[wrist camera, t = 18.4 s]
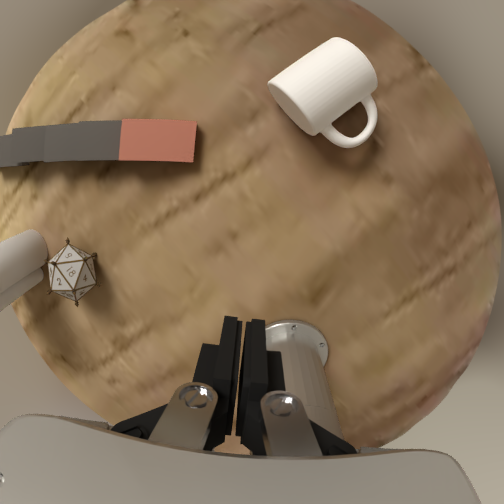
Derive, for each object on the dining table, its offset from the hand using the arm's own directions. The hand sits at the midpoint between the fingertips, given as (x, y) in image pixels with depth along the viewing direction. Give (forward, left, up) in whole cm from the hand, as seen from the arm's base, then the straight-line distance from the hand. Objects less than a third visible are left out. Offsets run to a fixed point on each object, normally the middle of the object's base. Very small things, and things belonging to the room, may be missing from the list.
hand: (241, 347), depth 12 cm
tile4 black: (+9, +27, -26) cm, 38 cm away
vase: (-10, +36, -27) cm, 46 cm away
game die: (-9, +24, -27) cm, 37 cm away
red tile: (+9, +8, -26) cm, 29 cm away
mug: (+16, -8, -27) cm, 32 cm away
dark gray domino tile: (+9, +20, -26) cm, 34 cm away
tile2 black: (+9, +14, -26) cm, 31 cm away
